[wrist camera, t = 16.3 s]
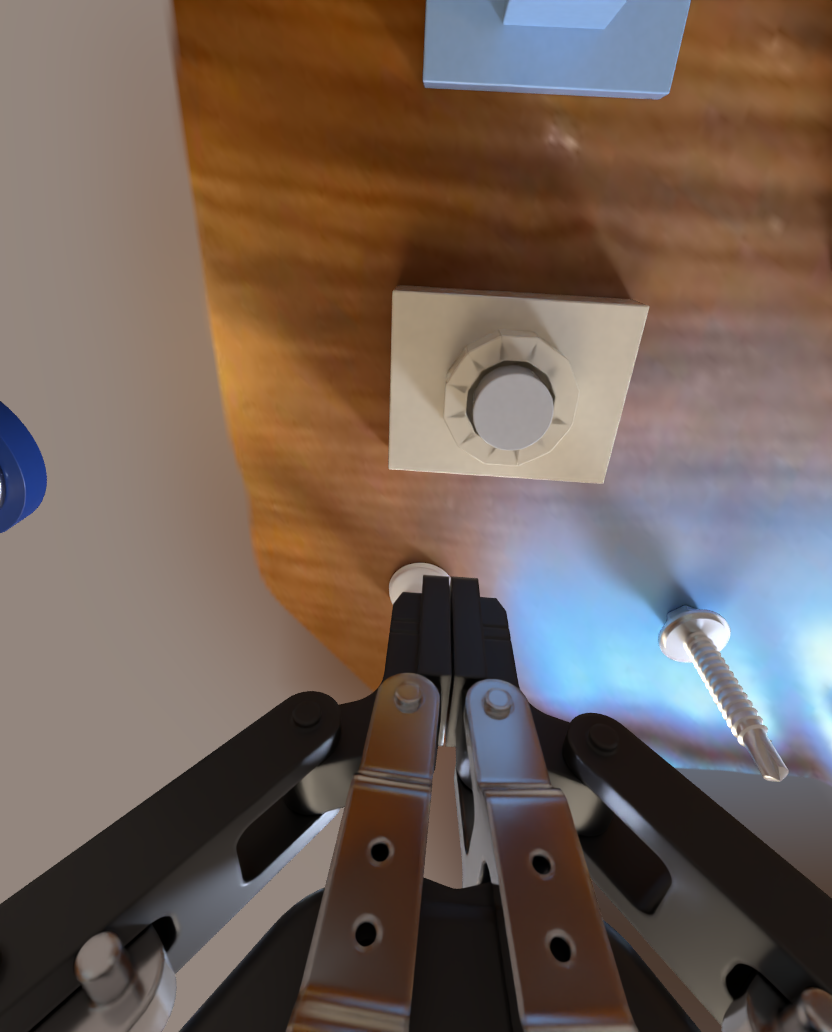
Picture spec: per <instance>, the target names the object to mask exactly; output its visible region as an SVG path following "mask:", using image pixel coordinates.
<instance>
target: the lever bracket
mask: <svg viewBox="0 0 832 1032" xmlns="http://www.w3.org/2000/svg"><path fill="white" fill-rule="evenodd" d="M690 2H691V0H426V11H425V35H424V58H423V85H424V88H436V89H456V90H476V91H496V92H517V93H537V94H557V95H577V96H597V97H617V98H637V99H657V100H659V99H661V98H663V97H664V96H666V95H668V94H669V92H670V88H671V84H672V79H673V75H674V71H675V67H676V62H677V58H678V54H679V49H680V45H681V41H682V37H683V32H684V28H685V24H686V19H687V15H688V11H689V7H690Z"/></svg>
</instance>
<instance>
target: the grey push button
mask: <svg viewBox="0 0 832 1032" xmlns="http://www.w3.org/2000/svg"><path fill="white" fill-rule="evenodd" d="M553 411H554V406H553V400H552V397H551V394H550V392H549V390H548V389H547V387H546V385H545V384H544V382H543V381H542V379H541V378H540V377H539V376H538V375H537V374H536V373H535V372H534V371H532V370H530V369H528V368H526V367H523V366H518V365H508V366H502V367H499V368H497V369H494V370H493V371H491V372H489V373H488V374H487V375H485V376H484V377H483V378H482V379H481V381H480V382H479V383H478V385H477V386H476V388H475V391H474V393H473V397H472V415H473V422H474V426H475V428H476V431H477V432H478V434H479V435H480V437H481V438H482V439H483V440H484V441H485V442H486V443H488V444H489V445H491V446H493V447H495V448H497V449H501V450H519V449H523V448H526V447H528V446H530V445H532V444H534V443H535V442H537V441H538V440H539V439H540V438H541V437H542V436H543V435H544V434H545V433H546V431H547V430H548V428H549V426H550V424H551V421H552V418H553Z"/></svg>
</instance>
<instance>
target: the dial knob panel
mask: <svg viewBox="0 0 832 1032" xmlns="http://www.w3.org/2000/svg"><path fill="white" fill-rule="evenodd" d="M648 310H649V306H648V305H646V304H643V303H641V302H638V301H636V300H633V299H622V298H605V297H589V296H572V295H555V294H538V293H521V292H504V291H487V290H471V289H454V288H437V287H420V286H403V285H398V286H397V287H396V288H395V289H394V290H393V292H392V327H391V370H390V413H389V456H388V468H389V469H395V470H409V471H424V472H439V473H453V474H468V475H482V476H497V477H512V478H526V479H541V480H556V481H570V482H585V483H600V484H603V483H604V479H605V475H606V471H607V467H608V464H609V460H610V456H611V452H612V448H613V444H614V441H615V437H616V433H617V429H618V425H619V421H620V418H621V414H622V410H623V406H624V402H625V398H626V395H627V391H628V387H629V383H630V379H631V375H632V372H633V368H634V364H635V360H636V356H637V352H638V348H639V345H640V341H641V337H642V333H643V329H644V325H645V322H646V318H647V314H648ZM508 365H518V366H523V367H526V368H528V369H530V370H532V371H534V372H535V373H536V374H537V375H538V376H539V377H540V378H541V379H542V381H543V382H544V384H545V385H546V387H547V389H548V390H549V392H550V394H551V397H552V400H553V406H554V411H553V418H552V421H551V424H550V426H549V428H548V430H547V431H546V433H545V434H544V435H543V436H542V437H541V438H540V439H539V440H538V441H537V442H535V443H534V444H532V445H530V446H528V447H526V448H523V449H519V450H501V449H497V448H495V447H493V446H491V445H489V444H488V443H486V442H485V441H484V440H483V439H482V438H481V437H480V435H479V434H478V432H477V431H476V428H475V426H474V422H473V415H472V397H473V393H474V391H475V388H476V386H477V385H478V383H479V382H480V381H481V379H482V378H483V377H484V376H485V375H487V374H488V373H489V372H491V371H493V370H494V369H497V368H499V367H502V366H508Z"/></svg>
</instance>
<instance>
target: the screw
mask: <svg viewBox="0 0 832 1032" xmlns="http://www.w3.org/2000/svg"><path fill="white" fill-rule="evenodd" d="M729 638H730V627H729V625H728V623H727V622H726V620H725V619H724V618H723V617H722V616H721V615H720V614H718V613H716V612H713V611H709V610H697V609H694V608H692V607H689V606H686V605H684V606H682V607H680V608H678V609H676V610H674V611H672V612H670V613H668V614H667V622H666V624H665V625H664V626H663V627H662V629H661V630H660V633H659V636H658V643H659V646H660V648H661V650H662V652H663V653H664V654H665V655H666V656H667V657H669V658H670V659H672V660H675V661H678V662H690V663H692V662H693V663H694V666H695V668H696V669H697V670H698V673H699V675H700V676H701V677H702V680H703V682H704V683H705V684H706V687H707V689H708V690H709V692H710V694H711V696H712V697H713V698H714V702H715V703H716V704H717V705H718V709H719V710H720V711H721V712H722V715H723V718H724V719H725V720H726V721H727V725H728V726H729V727H730V728H731V729H732V733H733V735H734V736H735V737H737V738H738V741H739V743H740V744H741V745H742V746H744V747H746V748H747V750H748V751H749V753H750V755H751V757H752V758H753V760H754V762H755V764H756V765H757V767H758V769H759V771H760V772H761V774H762V776H763V778H764V779H766V780H768V781H782V780H783V778H785V777H786V776H787V774H788V772H789V771H788V769H787V767H786V765H785V764H784V762H783V761H782V759H781V757H780V756H779V754H778V753H777V751H776V749H775V748H774V746H773V745H772V743H771V742H772V741H771V740H769V738H768V736H767V734H766V733H767V731H768V728H767V727H766V726H764V725H762V723H763V719H762V718H761V717H760V716H757V714H758V711H757V710H756V709H755V708H753V707H752V706H753V704H752V702H751V701H750V700H747V698H748V696H747V694H746V693H744V692H743V688H742V686H740V685H739V684H738V680H737V679H736V678H735V677H734V674H733V672H732V671H730V670H729V666H728V665H727V664H725V660H724V658H722V657H721V653H720V651H721V650H722V649H723V648H724V647H725V645H726V644H727V642H728V640H729Z"/></svg>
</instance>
